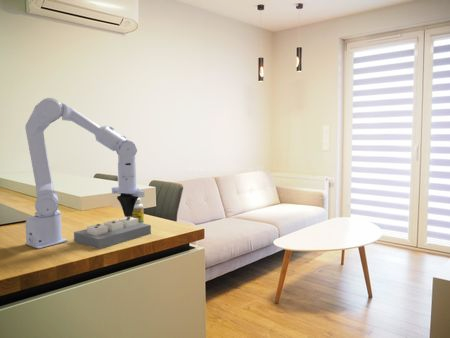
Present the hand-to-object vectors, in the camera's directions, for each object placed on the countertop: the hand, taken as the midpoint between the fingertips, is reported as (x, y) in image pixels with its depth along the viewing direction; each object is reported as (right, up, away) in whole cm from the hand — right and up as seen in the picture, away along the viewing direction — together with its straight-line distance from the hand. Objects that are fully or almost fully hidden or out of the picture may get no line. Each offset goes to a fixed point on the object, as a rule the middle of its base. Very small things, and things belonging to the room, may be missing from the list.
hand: (128, 216), depth 120 cm
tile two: (-7, -5, -9) cm, 13 cm away
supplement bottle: (-1, -5, +13) cm, 14 cm away
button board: (-4, -6, -4) cm, 8 cm away
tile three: (0, -4, 0) cm, 4 cm away
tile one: (-4, -4, -4) cm, 7 cm away
